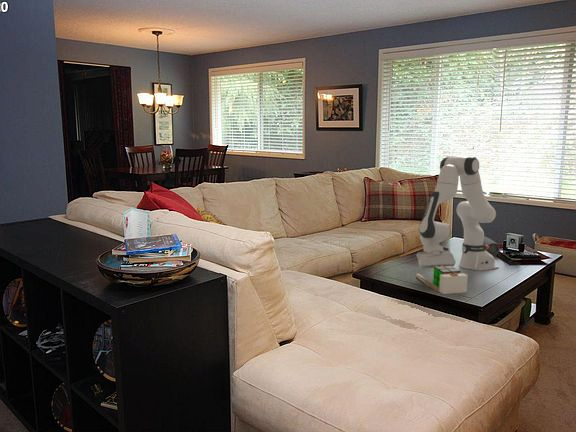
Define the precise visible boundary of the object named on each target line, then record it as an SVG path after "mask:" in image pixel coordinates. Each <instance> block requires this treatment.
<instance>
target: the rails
mask: <svg viewBox="0 0 576 432" xmlns="http://www.w3.org/2000/svg"><path fill="white" fill-rule="evenodd" d="M415 275H416V278H417V279H418V280H419V281H421V282H422V283H424V284H425V285H427V286H428V287H430V288H431V289H432V290H433V291H435V292H439V287H438V286H436V285H435V284H433V282H432V281H430V280H429V279H428V278H426V277H424V275H422V274H421V273H416V274H415Z"/></svg>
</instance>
